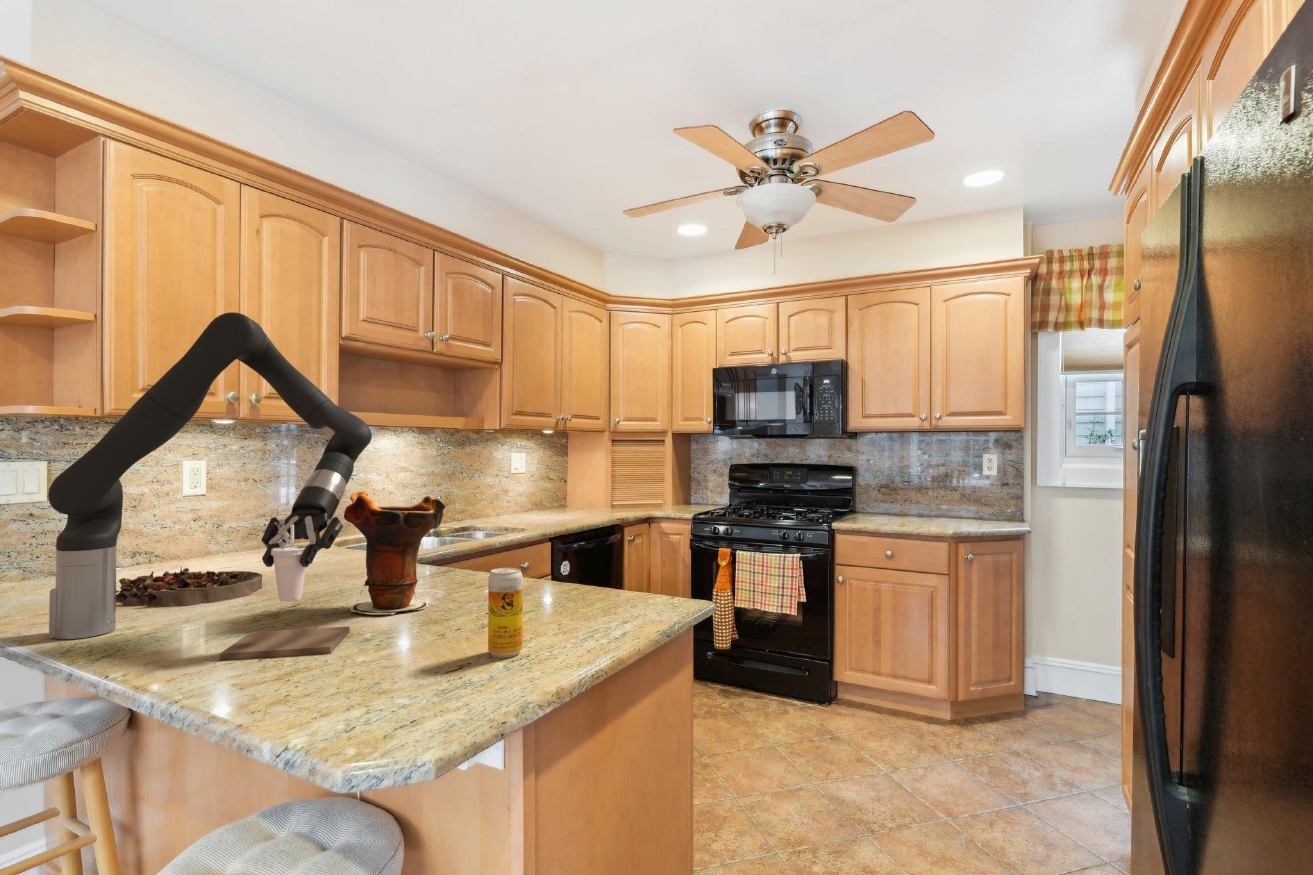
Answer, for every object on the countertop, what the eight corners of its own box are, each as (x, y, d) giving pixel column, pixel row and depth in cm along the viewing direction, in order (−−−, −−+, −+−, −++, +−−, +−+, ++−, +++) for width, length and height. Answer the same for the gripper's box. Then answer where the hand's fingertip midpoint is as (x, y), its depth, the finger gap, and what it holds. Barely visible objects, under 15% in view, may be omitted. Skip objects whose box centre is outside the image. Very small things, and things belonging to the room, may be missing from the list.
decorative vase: (458, 607, 153) (458, 490, 153) (356, 623, 138) (357, 494, 139) (425, 592, 168) (426, 487, 169) (331, 606, 154) (332, 490, 154)
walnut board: (219, 660, 114) (219, 653, 114) (251, 638, 128) (251, 631, 128) (330, 653, 118) (330, 646, 118) (349, 632, 132) (349, 626, 132)
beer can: (492, 660, 114) (492, 574, 114) (484, 651, 119) (484, 569, 119) (526, 655, 116) (526, 571, 117) (517, 646, 122) (517, 566, 122)
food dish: (92, 599, 167) (93, 569, 168) (238, 582, 193) (239, 555, 193) (123, 617, 145) (124, 581, 145) (284, 594, 170) (284, 564, 170)
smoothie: (317, 595, 126) (316, 523, 126) (295, 603, 120) (295, 527, 120) (286, 595, 127) (285, 523, 127) (262, 602, 120) (262, 527, 120)
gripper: (278, 484, 131) (237, 552, 119) (347, 484, 131) (314, 552, 119) (294, 508, 136) (256, 576, 124) (361, 508, 136) (330, 576, 124)
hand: (285, 564), depth 122 cm, fingers closed on smoothie, 6 cm apart
